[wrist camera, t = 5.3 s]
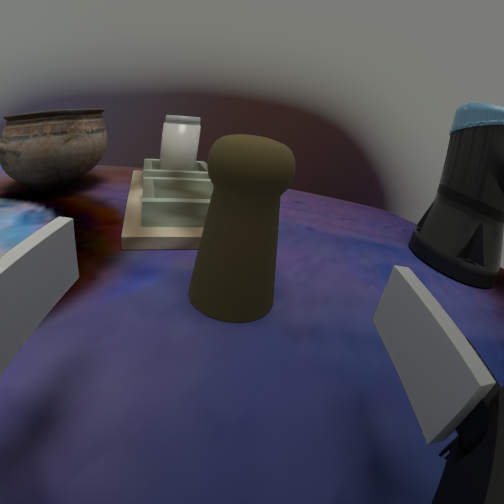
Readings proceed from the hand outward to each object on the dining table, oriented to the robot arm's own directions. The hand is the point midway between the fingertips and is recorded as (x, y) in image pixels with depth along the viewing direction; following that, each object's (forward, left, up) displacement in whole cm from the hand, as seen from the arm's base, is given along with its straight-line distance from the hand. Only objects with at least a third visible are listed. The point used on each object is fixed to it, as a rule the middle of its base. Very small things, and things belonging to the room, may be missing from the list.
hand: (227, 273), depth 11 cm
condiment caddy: (-2, -29, -6) cm, 30 cm away
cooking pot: (+19, -38, -7) cm, 43 cm away
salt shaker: (-2, -36, -5) cm, 37 cm away
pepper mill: (-3, -7, -7) cm, 10 cm away
